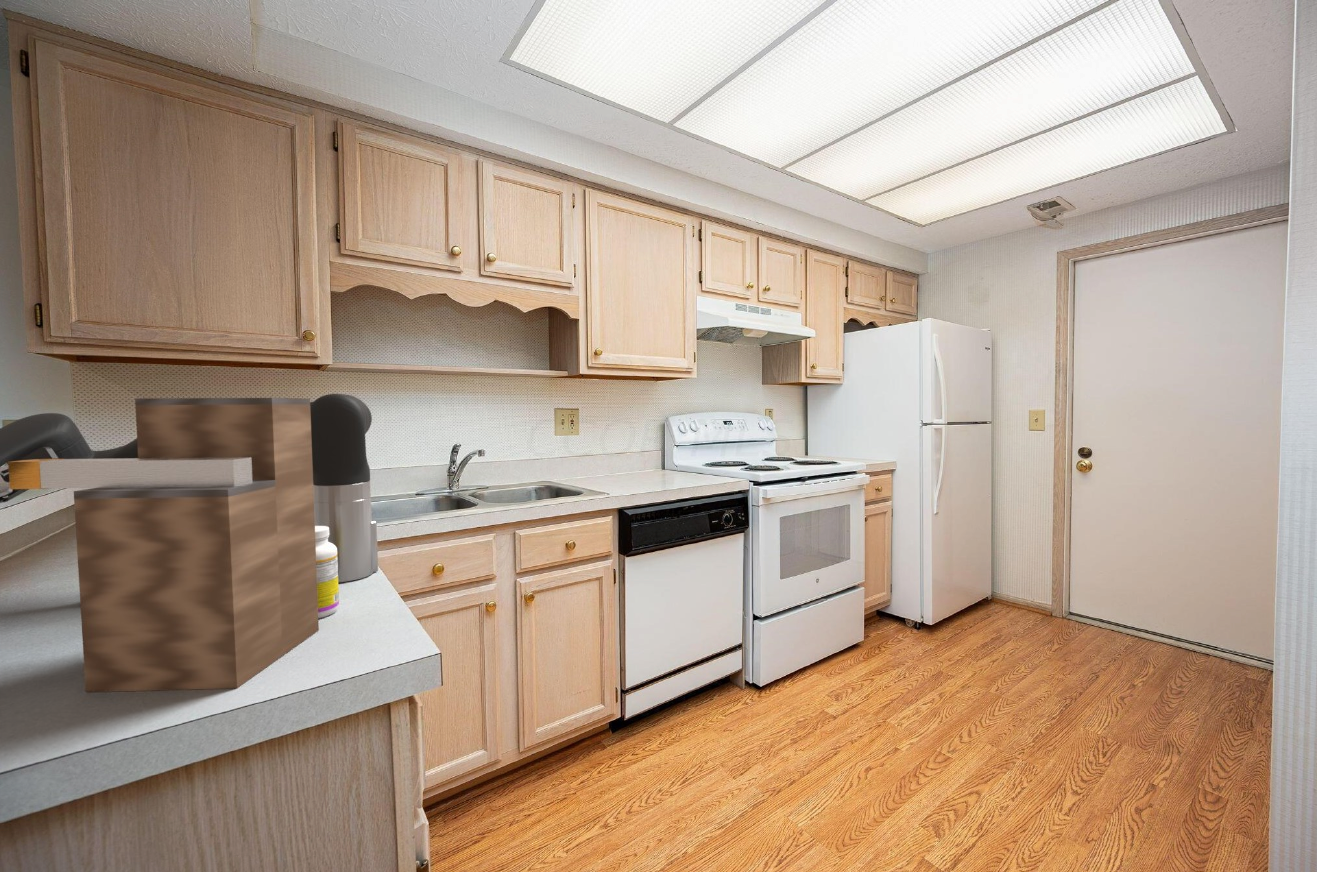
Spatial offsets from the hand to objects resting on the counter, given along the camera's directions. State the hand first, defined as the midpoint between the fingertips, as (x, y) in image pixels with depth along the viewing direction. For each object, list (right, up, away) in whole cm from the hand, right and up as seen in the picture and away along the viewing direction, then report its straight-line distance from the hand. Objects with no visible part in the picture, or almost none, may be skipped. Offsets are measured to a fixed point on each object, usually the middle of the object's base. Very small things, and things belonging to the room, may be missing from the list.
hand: (12, 456), depth 63 cm
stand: (+18, -25, +6) cm, 32 cm away
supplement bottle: (+21, -25, +21) cm, 39 cm away
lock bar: (+13, -3, +1) cm, 14 cm away
